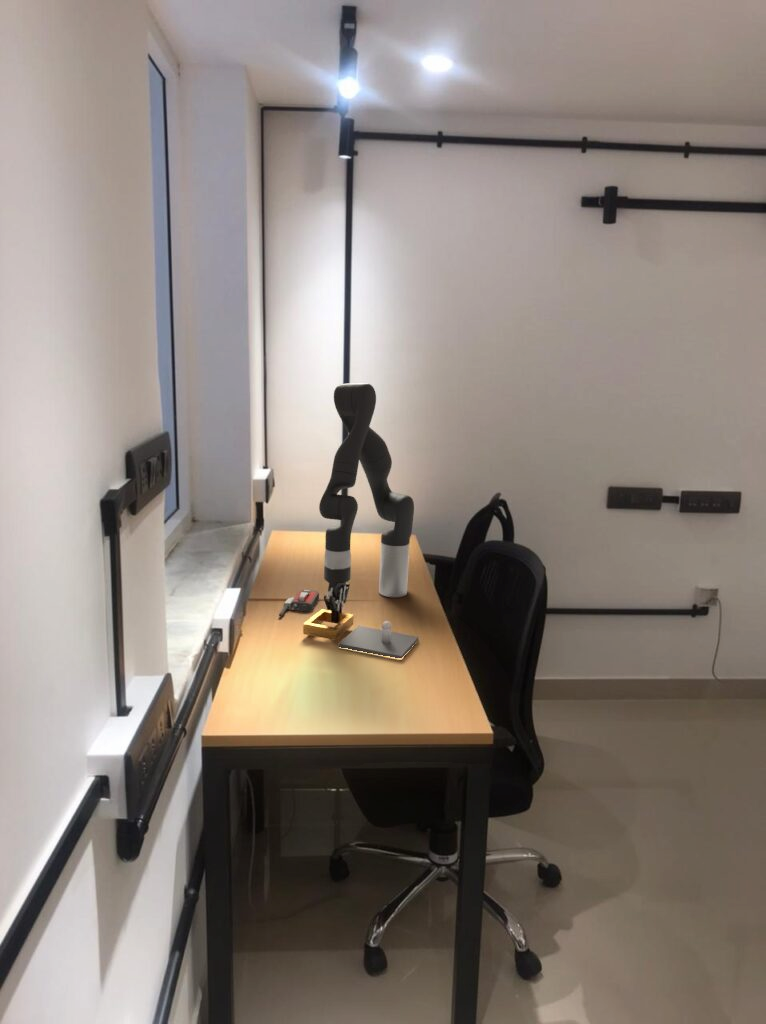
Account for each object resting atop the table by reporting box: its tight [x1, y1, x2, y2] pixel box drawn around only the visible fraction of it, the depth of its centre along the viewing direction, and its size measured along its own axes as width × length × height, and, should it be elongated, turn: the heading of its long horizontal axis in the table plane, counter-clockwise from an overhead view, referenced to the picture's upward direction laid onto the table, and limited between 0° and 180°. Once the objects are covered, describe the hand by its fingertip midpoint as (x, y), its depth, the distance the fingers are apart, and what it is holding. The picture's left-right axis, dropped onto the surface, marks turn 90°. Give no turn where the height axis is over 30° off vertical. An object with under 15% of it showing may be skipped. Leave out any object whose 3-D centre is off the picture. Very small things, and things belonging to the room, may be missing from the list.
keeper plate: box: [338, 620, 419, 658], centre depth 209 cm, size 14×18×7 cm
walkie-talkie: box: [278, 589, 320, 617], centre depth 235 cm, size 9×4×20 cm
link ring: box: [302, 608, 355, 641], centre depth 216 cm, size 12×10×3 cm
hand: (336, 620), depth 221 cm, fingers closed on link ring, 1 cm apart
